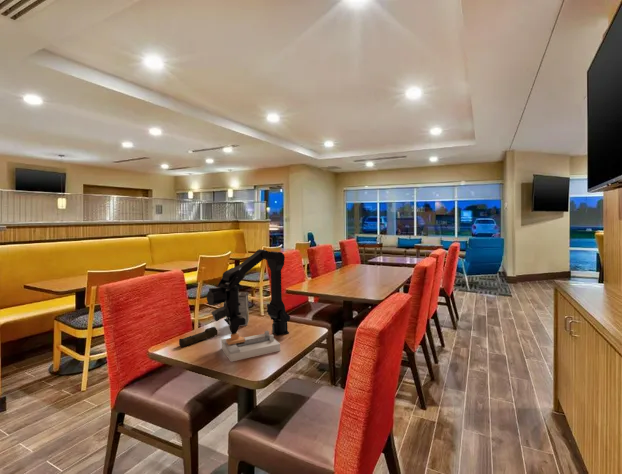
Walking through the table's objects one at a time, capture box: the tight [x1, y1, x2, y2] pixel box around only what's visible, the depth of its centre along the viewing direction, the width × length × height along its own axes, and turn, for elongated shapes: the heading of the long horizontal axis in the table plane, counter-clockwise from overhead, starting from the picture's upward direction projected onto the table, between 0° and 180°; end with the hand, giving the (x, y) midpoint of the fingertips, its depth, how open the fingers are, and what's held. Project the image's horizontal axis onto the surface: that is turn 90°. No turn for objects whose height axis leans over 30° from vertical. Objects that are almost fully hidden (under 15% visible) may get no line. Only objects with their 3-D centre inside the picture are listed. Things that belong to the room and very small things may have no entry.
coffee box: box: [238, 291, 250, 327], centre depth 176 cm, size 9×6×16 cm
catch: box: [225, 332, 245, 345], centre depth 139 cm, size 7×4×3 cm, turn 118°
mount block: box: [220, 330, 281, 362], centre depth 141 cm, size 21×15×6 cm
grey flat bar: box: [235, 336, 269, 347], centre depth 141 cm, size 15×4×1 cm, turn 118°
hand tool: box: [178, 326, 219, 348], centre depth 152 cm, size 19×4×5 cm, turn 139°
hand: (233, 336), depth 142 cm, fingers closed
